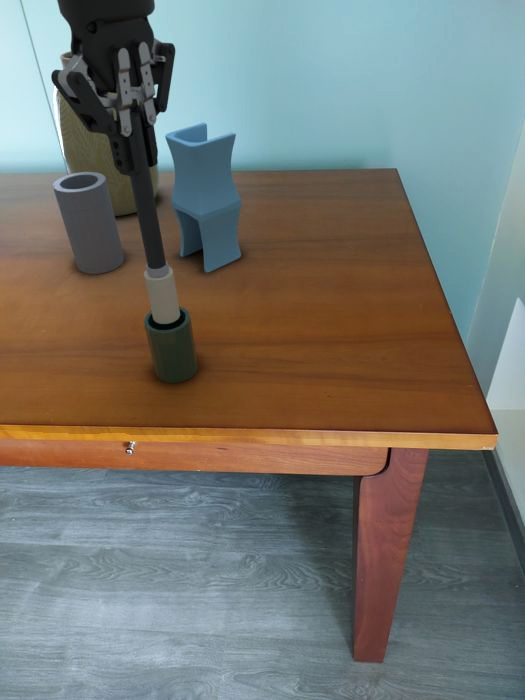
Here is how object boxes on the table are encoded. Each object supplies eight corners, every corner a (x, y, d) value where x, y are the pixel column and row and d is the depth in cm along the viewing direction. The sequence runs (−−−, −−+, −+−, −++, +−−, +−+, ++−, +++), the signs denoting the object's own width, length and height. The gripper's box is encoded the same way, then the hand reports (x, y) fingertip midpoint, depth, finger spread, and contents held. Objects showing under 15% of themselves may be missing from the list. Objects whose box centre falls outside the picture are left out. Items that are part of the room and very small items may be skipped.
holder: (181, 388, 64) (171, 337, 59) (146, 374, 67) (134, 324, 62) (206, 362, 68) (198, 312, 63) (172, 350, 70) (163, 300, 65)
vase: (86, 228, 99) (42, 69, 81) (72, 195, 111) (31, 50, 94) (174, 209, 104) (150, 55, 86) (151, 179, 116) (126, 39, 99)
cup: (102, 278, 85) (79, 195, 76) (67, 267, 88) (41, 186, 79) (133, 256, 90) (115, 176, 81) (99, 246, 93) (79, 168, 84)
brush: (169, 327, 60) (130, 122, 46) (147, 319, 62) (103, 118, 47) (185, 312, 62) (153, 112, 48) (164, 305, 64) (126, 108, 49)
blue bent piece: (244, 255, 89) (236, 133, 76) (207, 273, 85) (192, 147, 72) (216, 239, 93) (204, 122, 81) (179, 255, 90) (160, 134, 77)
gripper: (119, -61, 46) (153, 142, 57) (-14, -50, 37) (57, 189, 48) (189, -63, 43) (210, 152, 54) (63, -51, 34) (120, 204, 45)
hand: (138, 168), depth 51 cm, fingers closed on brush, 2 cm apart
